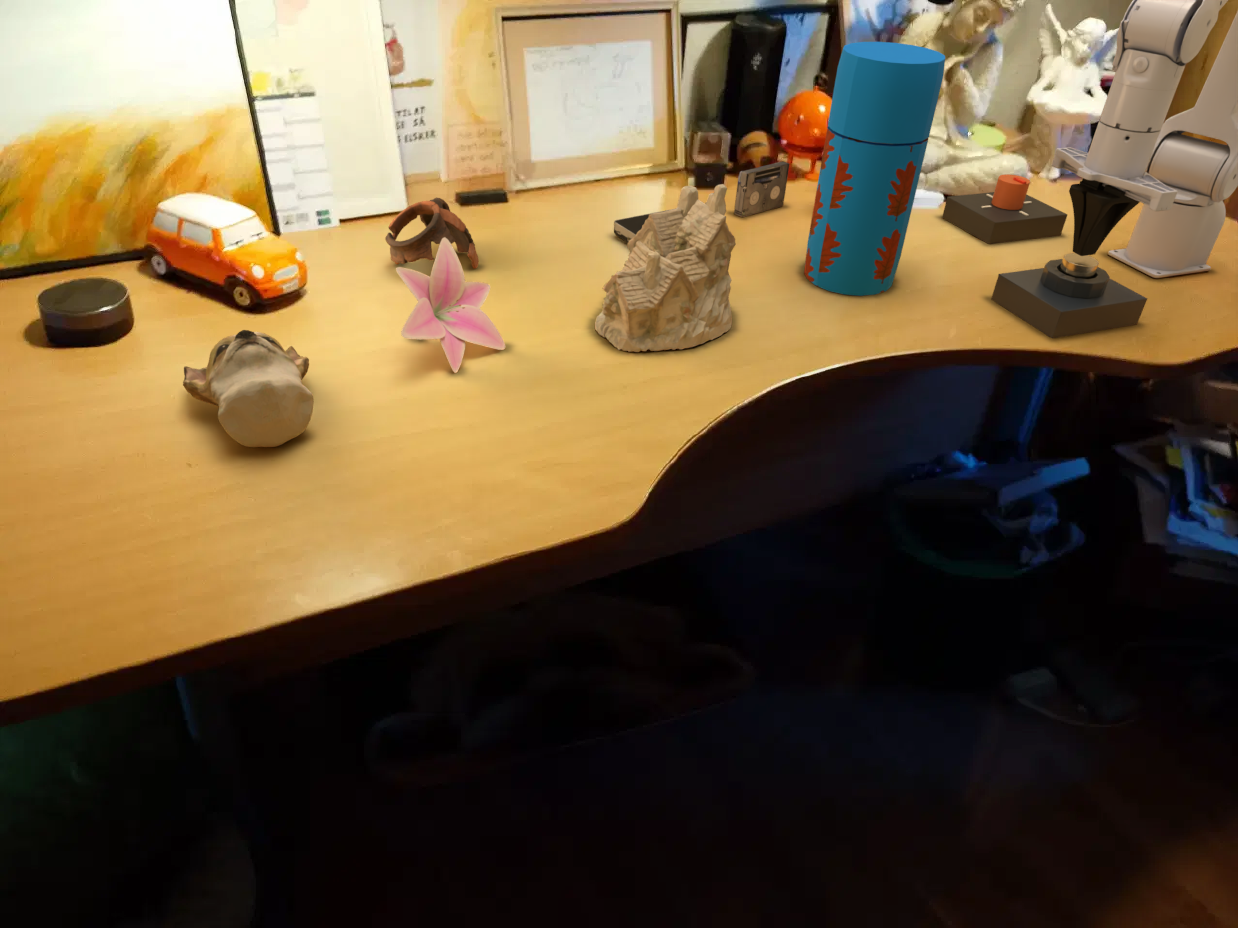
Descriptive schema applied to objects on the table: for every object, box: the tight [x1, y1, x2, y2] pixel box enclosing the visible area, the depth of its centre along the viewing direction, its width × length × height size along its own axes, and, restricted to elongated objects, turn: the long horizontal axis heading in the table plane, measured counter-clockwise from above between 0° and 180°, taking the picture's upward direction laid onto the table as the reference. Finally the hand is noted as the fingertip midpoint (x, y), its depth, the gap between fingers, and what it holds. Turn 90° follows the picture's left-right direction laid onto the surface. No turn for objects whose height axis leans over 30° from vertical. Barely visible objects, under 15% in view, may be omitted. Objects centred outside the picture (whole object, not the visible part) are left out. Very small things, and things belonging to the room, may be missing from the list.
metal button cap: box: [1059, 252, 1100, 279], centre depth 100 cm, size 4×4×2 cm
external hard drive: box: [613, 208, 673, 243], centre depth 115 cm, size 7×11×2 cm, turn 122°
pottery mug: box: [384, 197, 480, 270], centre depth 106 cm, size 12×10×8 cm
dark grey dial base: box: [941, 191, 1068, 245], centre depth 123 cm, size 12×10×3 cm
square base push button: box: [990, 258, 1148, 339], centre depth 101 cm, size 12×10×5 cm
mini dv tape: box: [733, 161, 790, 218], centre depth 124 cm, size 8×2×6 cm, turn 128°
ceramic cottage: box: [594, 183, 737, 353], centre depth 94 cm, size 16×16×15 cm
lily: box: [395, 237, 506, 374], centre depth 88 cm, size 12×12×10 cm
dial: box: [992, 174, 1031, 210], centre depth 121 cm, size 4×4×4 cm
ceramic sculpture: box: [182, 329, 315, 448], centre depth 77 cm, size 11×9×15 cm
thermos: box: [803, 41, 946, 297], centre depth 101 cm, size 11×11×25 cm
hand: (1083, 253), depth 99 cm, fingers closed
